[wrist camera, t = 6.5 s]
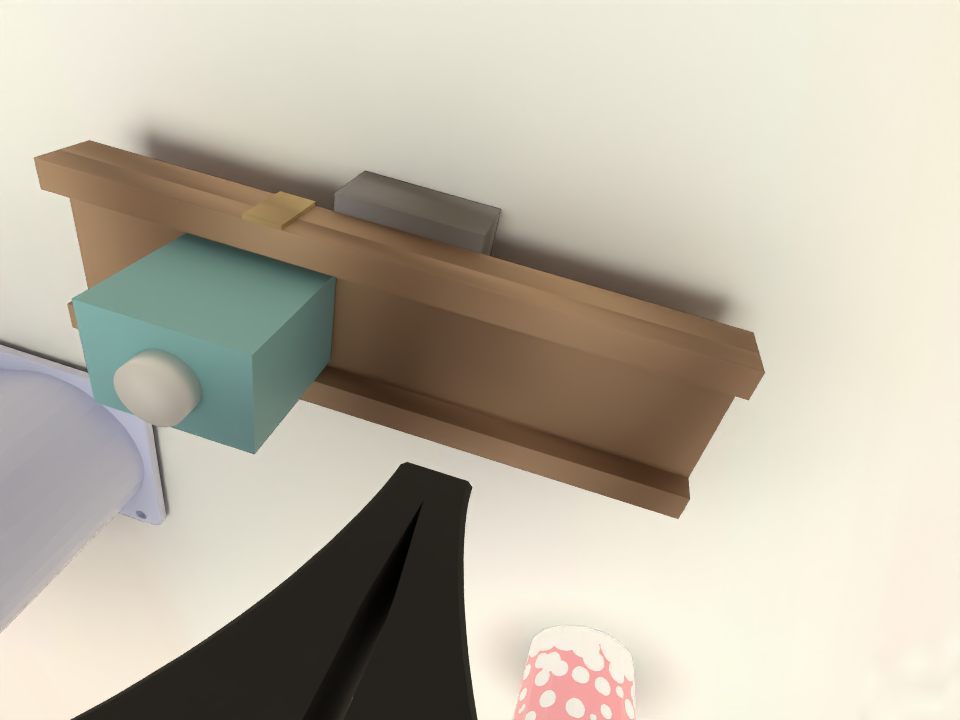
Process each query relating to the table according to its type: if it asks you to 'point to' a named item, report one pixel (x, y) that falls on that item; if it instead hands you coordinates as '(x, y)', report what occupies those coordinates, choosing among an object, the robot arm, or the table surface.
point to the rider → (207, 339)
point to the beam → (446, 322)
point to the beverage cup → (576, 677)
